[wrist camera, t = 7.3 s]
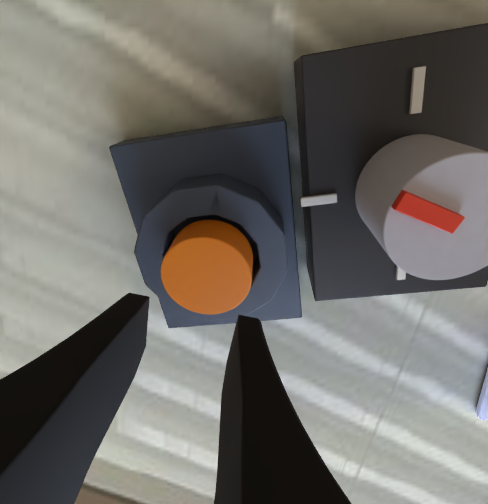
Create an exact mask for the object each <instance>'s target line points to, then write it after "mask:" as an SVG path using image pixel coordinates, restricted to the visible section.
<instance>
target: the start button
mask: <svg viewBox="0 0 488 504" xmlns="http://www.w3.org/2000/svg"><path fill="white" fill-rule="evenodd" d="M252 268H253V253H252V248H251V246H250V244H249V242H248V240H247V239H246V237H245V236H244V235H243V234H242V233H241V232H240V231H239V230H238V229H237V228H235V227H233V226H232V225H230V224H228V223H225V222H222V221H218V220H200V221H196V222H193V223H191V224H189V225H187V226H186V227H184V228H183V229H182V230H181V231H180V232H179V233H178V234H177V236H176V237H175V239H174V241H173V242H172V244H171V246H170V248H169V249H168V251H167V253H166V255H165V256H164V258H163V261H162V264H161V279H162V283H163V285H164V288H165V290H166V291H167V293H168V294H169V296H170V297H171V298H172V299H173V300H174V301H175V302H176V303H178V304H179V305H180V306H182V307H184V308H186V309H188V310H190V311H193V312H196V313H200V314H220V313H224V312H227V311H230V310H232V309H233V308H235V307H237V306H238V305H239V304H240V303H241V302H242V301H243V300H244V299H245V298H246V296H247V295H248V293H249V291H250V288H251V283H252Z"/></svg>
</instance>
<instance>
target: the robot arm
mask: <svg viewBox="0 0 488 504" xmlns="http://www.w3.org/2000/svg"><path fill="white" fill-rule="evenodd" d="M148 308H149V297H148V296H143V295H137V294H132V293H128V294H127V295H125V296H124V297H122V298H121V299H120V300H119V301H117V302H116V303H115V304H113V305H112V306H111V307H109V308H108V309H107V310H106V311H104V312H103V313H102V314H100V315H99V316H98V317H96V318H95V319H94V320H92V321H91V322H89V323H88V324H87V325H85V326H84V327H82V328H81V329H80V330H78V331H77V332H75V333H74V334H73V335H71V336H70V337H68V338H67V339H65V340H64V341H62V342H61V343H59V344H58V345H56V346H55V347H53V348H52V349H50V350H49V351H47V352H46V353H44V354H42V355H41V356H39V357H38V358H36V359H35V360H33V361H31V362H30V363H28V364H26V365H25V366H23V367H21V368H20V369H18V370H16V371H15V372H13V373H11V374H9V375H8V376H6V377H4V378H2V379H0V504H74V503H75V501H76V498H77V496H78V493H79V491H80V488H81V486H82V484H83V481H84V479H85V476H86V474H87V471H88V469H89V467H90V465H91V463H92V460H93V458H94V456H95V454H96V452H97V450H98V448H99V446H100V444H101V442H102V440H103V438H104V436H105V434H106V432H107V430H108V428H109V426H110V424H111V422H112V420H113V418H114V416H115V414H116V412H117V411H118V409H119V407H120V405H121V403H122V401H123V399H124V397H125V395H126V393H127V391H128V389H129V387H130V385H131V383H132V381H133V379H134V376H135V374H136V371H137V368H138V366H139V363H140V360H141V358H142V355H143V352H144V349H145V347H146V334H147V321H148ZM476 415H477V416H478V418H479V419H481V420H488V369H487V372H486V376H485V379H484V383H483V387H482V390H481V394H480V397H479V401H478V405H477V408H476ZM214 504H351V502H350V501H349V499H348V498H347V496H346V495H345V494H344V492H343V491H342V489H341V488H340V486H339V485H338V483H337V482H336V480H335V479H334V477H333V476H332V474H331V473H330V471H329V470H328V468H327V466H326V465H325V463H324V461H323V460H322V458H321V456H320V455H319V453H318V451H317V450H316V448H315V446H314V445H313V443H312V441H311V439H310V438H309V436H308V434H307V432H306V431H305V429H304V427H303V425H302V423H301V421H300V419H299V417H298V415H297V413H296V411H295V409H294V407H293V405H292V403H291V401H290V399H289V397H288V395H287V393H286V391H285V388H284V386H283V384H282V382H281V379H280V377H279V374H278V372H277V369H276V367H275V364H274V362H273V359H272V357H271V354H270V351H269V348H268V345H267V342H266V339H265V336H264V332H263V329H262V325H261V322H260V320H259V319H258V318H254V317H249V316H244V315H238V319H237V323H236V327H235V331H234V335H233V339H232V343H231V347H230V351H229V355H228V359H227V364H226V370H225V377H224V383H223V390H222V399H221V416H220V434H219V452H218V469H217V482H216V493H215V500H214Z"/></svg>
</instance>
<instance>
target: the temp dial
mask: <svg viewBox="0 0 488 504" xmlns="http://www.w3.org/2000/svg"><path fill="white" fill-rule="evenodd" d="M355 202H356V207H357V210H358V213H359V215H360V217H361V218H362V220H363V221H364V223H365V224H366V225H367V227H368V228H369V230H370V231H371V232H372V234H373V235H374V236H375V238H376V239H377V241H378V242H379V243H380V245H381V246H382V248H383V249H384V250H385V252H386V253H387V254H388V256H389V257H390V259H391V260H392V261H393V262H394V264H396V265H397V266H398V267H399V268H400V269H402V270H403V271H405V272H406V273H408V274H411V275H413V276H416V277H419V278H423V279H429V280H447V279H454V278H458V277H462V276H465V275H468V274H471V273H473V272H476V271H478V270H480V269H482V268H484V267H486V266H487V265H488V151H484V150H481V149H478V148H474V147H471V146H468V145H464V144H461V143H458V142H454V141H451V140H448V139H445V138H441V137H438V136H434V135H429V134H416V135H410V136H405V137H402V138H399V139H397V140H395V141H393V142H391V143H389V144H387V145H386V146H384V147H383V148H381V149H380V150H379V151H378V152H377V153H375V154H374V155H373V156H372V157H371V159H370V160H369V161H368V162H367V164H366V165H365V167H364V168H363V170H362V172H361V174H360V176H359V179H358V181H357V185H356V191H355Z"/></svg>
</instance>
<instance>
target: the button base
mask: <svg viewBox="0 0 488 504" xmlns="http://www.w3.org/2000/svg"><path fill="white" fill-rule="evenodd" d="M109 149H110V152H111V155H112V158H113V161H114V164H115V167H116V170H117V173H118V176H119V179H120V182H121V185H122V188H123V191H124V194H125V197H126V200H127V204H128V207H129V210H130V213H131V216H132V219H133V222H134V225H135V228H136V231H137V234H138V237H137V241H136V245H135V251H134V253H135V256H136V258H137V261H138V264H139V267H140V270H141V273H142V276H143V279H144V282H145V284H146V285H147V286H148V287H149V288H150V289H151V290H152V291H153V292H154V293H155V294H156V295H157V296H158V298H159V301H160V304H161V307H162V310H163V313H164V316H165V319H166V322H167V325H168V328H177V327H190V326H202V325H215V324H227V323H237V319H238V315H244V316H249V317H254V318H258V319H259V320H260V321H265V320H277V319H290V318H301V317H302V311H301V299H300V287H299V275H298V263H297V251H296V238H295V226H294V214H293V202H292V190H291V178H290V166H289V153H288V141H287V129H286V121H285V119H284V117H283V116H280V117H273V118H267V119H260V120H254V121H247V122H241V123H234V124H228V125H221V126H215V127H208V128H202V129H195V130H189V131H182V132H176V133H170V134H163V135H157V136H150V137H144V138H137V139H131V140H124V141H122V142H119V143H117V144H114V145H112V146H110V147H109ZM200 220H218V221H222V222H225V223H228V224H230V225H232V226H233V227H235V228H237V229H238V230H239V231H240V232H241V233H242V234H243V235H244V236H245V237H246V239H247V240H248V242H249V244H250V246H251V248H252V253H253V268H252V283H251V288H250V291H249V293H248V295H247V296H246V298H245V299H244V300H243V301H242V302H241V303H240V304H239V305H238V306H237V307H235V308H233V309H232V310H230V311H227V312H224V313H220V314H200V313H196V312H193V311H190V310H188V309H186V308H184V307H182V306H180V305H179V304H178V303H176V302H175V301H174V300H173V299H172V298H171V297H170V296H169V294H168V293H167V291H166V290H165V288H164V285H163V283H162V279H161V264H162V261H163V258H164V256H165V255H166V253H167V251H168V249H169V248H170V246H171V244H172V242H173V241H174V239H175V237H176V236H177V234H178V233H179V232H180V231H181V230H182V229H183V228H184V227H186V226H187V225H189V224H191V223H193V222H196V221H200Z"/></svg>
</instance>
